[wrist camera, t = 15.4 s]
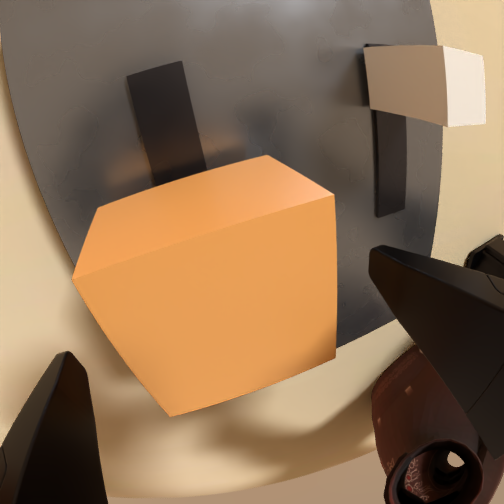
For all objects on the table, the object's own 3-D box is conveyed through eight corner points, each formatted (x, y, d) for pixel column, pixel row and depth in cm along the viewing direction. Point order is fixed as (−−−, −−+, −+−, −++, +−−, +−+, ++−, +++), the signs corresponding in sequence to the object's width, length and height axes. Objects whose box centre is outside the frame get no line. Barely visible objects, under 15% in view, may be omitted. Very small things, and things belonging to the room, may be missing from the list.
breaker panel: (403, 289, 21) (422, 307, 19) (165, 383, 18) (170, 412, 16) (393, -35, 9) (422, -42, 7) (17, 7, 6) (-6, -5, 4)
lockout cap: (287, 288, 12) (335, 357, 9) (157, 332, 12) (169, 416, 8) (267, 154, 9) (334, 194, 6) (97, 207, 8) (71, 280, 5)
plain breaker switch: (412, 105, 11) (485, 123, 8) (370, 108, 10) (447, 127, 7) (407, 50, 9) (483, 55, 6) (363, 47, 9) (443, 45, 6)
